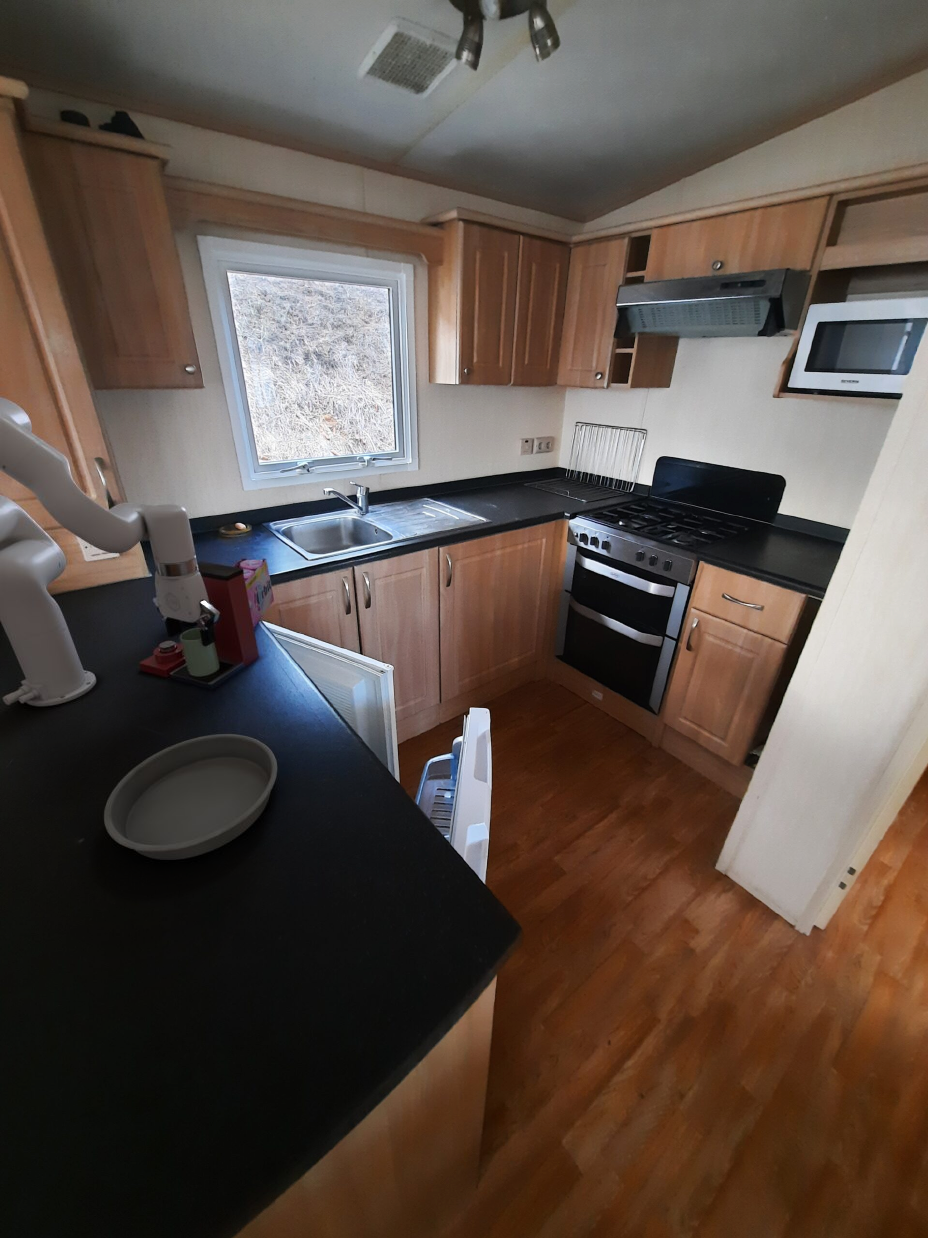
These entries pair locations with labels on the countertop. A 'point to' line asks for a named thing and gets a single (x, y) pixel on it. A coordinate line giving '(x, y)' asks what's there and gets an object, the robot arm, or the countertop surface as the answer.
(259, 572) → the gum box
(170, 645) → the button
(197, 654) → the cup
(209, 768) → the cake pan
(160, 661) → the button block
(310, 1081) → the countertop surface
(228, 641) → the coffee maker
